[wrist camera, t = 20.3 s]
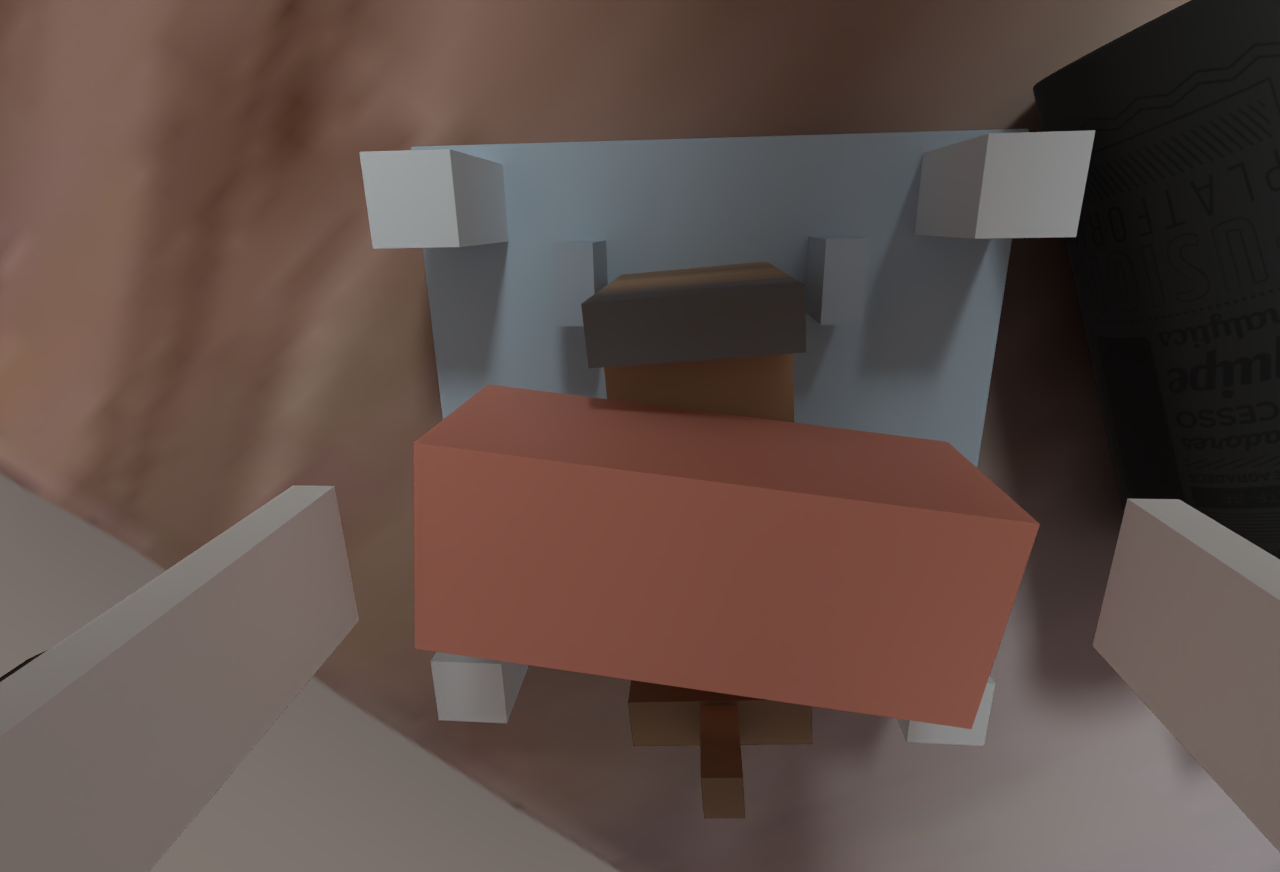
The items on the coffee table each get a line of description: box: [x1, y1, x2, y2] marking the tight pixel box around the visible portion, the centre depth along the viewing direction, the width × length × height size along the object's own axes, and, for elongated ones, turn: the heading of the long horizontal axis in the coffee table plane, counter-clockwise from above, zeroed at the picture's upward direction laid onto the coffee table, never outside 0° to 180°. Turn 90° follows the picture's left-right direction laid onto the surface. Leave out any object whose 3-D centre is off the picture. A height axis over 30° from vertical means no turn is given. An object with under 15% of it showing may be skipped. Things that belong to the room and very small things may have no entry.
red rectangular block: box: [414, 384, 1040, 729], centre depth 13 cm, size 10×4×4 cm, turn 84°
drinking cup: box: [1033, 0, 1280, 559], centre depth 16 cm, size 8×8×20 cm
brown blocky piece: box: [581, 262, 812, 818], centre depth 16 cm, size 10×4×9 cm, turn 5°
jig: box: [359, 128, 1095, 746], centre depth 18 cm, size 16×16×5 cm
